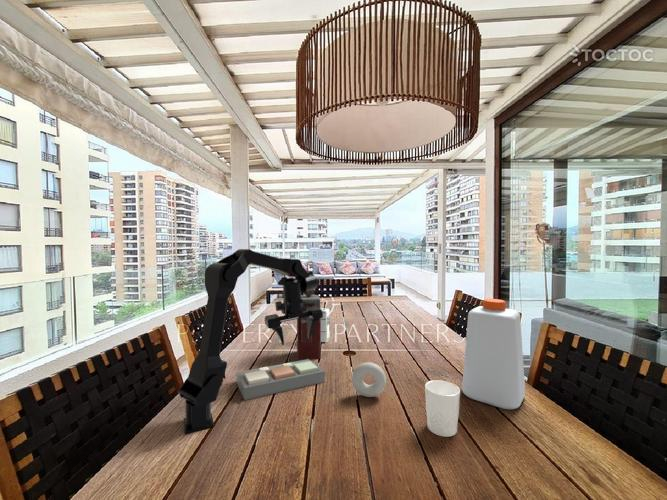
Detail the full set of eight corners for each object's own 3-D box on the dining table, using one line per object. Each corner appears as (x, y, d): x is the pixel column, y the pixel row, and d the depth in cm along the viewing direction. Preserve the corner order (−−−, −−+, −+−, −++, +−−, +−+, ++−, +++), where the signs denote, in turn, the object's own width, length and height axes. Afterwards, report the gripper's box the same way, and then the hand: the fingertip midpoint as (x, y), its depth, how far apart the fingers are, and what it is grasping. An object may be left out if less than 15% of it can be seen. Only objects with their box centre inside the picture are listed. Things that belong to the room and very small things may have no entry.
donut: (351, 398, 89) (351, 363, 88) (352, 392, 92) (352, 359, 92) (386, 400, 87) (386, 365, 87) (386, 395, 91) (386, 361, 90)
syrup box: (327, 343, 138) (327, 310, 138) (314, 342, 139) (314, 310, 139) (329, 339, 143) (329, 308, 143) (317, 338, 145) (317, 307, 144)
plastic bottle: (473, 379, 101) (474, 294, 101) (527, 393, 91) (528, 299, 91) (457, 396, 90) (458, 300, 89) (517, 415, 80) (518, 307, 79)
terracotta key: (294, 378, 96) (294, 372, 96) (275, 382, 93) (275, 375, 93) (288, 371, 101) (288, 365, 101) (270, 374, 99) (270, 368, 99)
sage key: (317, 373, 100) (317, 367, 100) (300, 377, 97) (300, 370, 97) (310, 366, 105) (310, 361, 105) (293, 370, 102) (293, 364, 102)
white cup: (432, 415, 80) (432, 377, 80) (463, 427, 75) (464, 386, 74) (419, 429, 74) (419, 388, 73) (453, 443, 69) (453, 399, 68)
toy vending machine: (297, 362, 116) (297, 287, 115) (297, 351, 127) (296, 283, 126) (321, 360, 117) (321, 287, 117) (318, 350, 128) (318, 283, 128)
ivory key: (269, 383, 92) (269, 377, 92) (248, 388, 90) (248, 381, 90) (264, 376, 98) (264, 369, 98) (244, 379, 95) (244, 373, 95)
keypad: (324, 382, 99) (324, 371, 99) (244, 400, 87) (244, 388, 87) (308, 367, 111) (308, 357, 111) (236, 381, 99) (236, 371, 99)
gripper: (310, 287, 113) (313, 328, 115) (259, 295, 105) (263, 339, 107) (322, 293, 103) (325, 338, 105) (266, 303, 95) (270, 351, 97)
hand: (296, 341), depth 103 cm, fingers open, 9 cm apart
